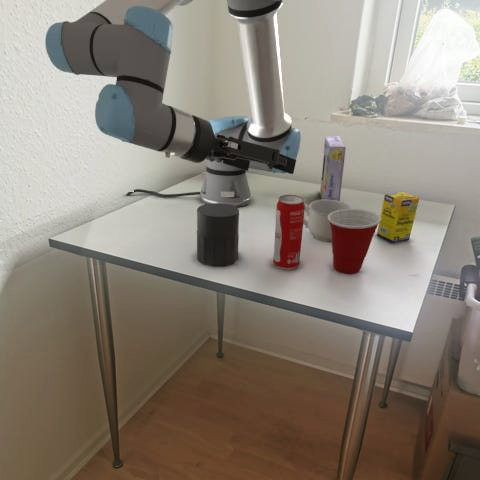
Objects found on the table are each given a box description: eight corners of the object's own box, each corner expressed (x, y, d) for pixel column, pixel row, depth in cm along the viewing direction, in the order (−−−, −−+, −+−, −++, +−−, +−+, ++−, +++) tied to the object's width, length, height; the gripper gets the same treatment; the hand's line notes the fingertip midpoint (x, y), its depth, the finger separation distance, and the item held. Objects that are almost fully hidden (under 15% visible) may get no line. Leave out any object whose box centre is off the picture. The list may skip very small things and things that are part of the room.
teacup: (351, 233, 122) (356, 202, 118) (345, 248, 113) (350, 215, 109) (298, 225, 125) (302, 195, 121) (288, 239, 117) (292, 207, 112)
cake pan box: (318, 191, 154) (325, 133, 145) (333, 192, 154) (341, 134, 144) (321, 209, 137) (330, 146, 128) (339, 210, 137) (348, 147, 128)
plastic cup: (315, 258, 107) (322, 206, 101) (362, 258, 108) (371, 207, 102) (327, 279, 98) (335, 224, 92) (377, 279, 99) (389, 224, 93)
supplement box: (392, 244, 116) (401, 200, 111) (375, 235, 121) (384, 193, 115) (410, 240, 119) (420, 197, 113) (393, 232, 123) (402, 191, 118)
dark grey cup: (190, 261, 103) (189, 212, 97) (207, 247, 110) (207, 201, 104) (228, 269, 100) (229, 219, 95) (243, 254, 107) (245, 207, 102)
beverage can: (299, 260, 106) (306, 193, 98) (299, 272, 100) (307, 203, 92) (272, 258, 106) (277, 191, 98) (271, 270, 101) (276, 201, 93)
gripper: (146, 156, 92) (228, 180, 107) (224, 160, 75) (310, 188, 89) (152, 116, 91) (235, 146, 105) (233, 111, 73) (319, 147, 87)
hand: (269, 165), depth 97 cm, fingers open, 13 cm apart
